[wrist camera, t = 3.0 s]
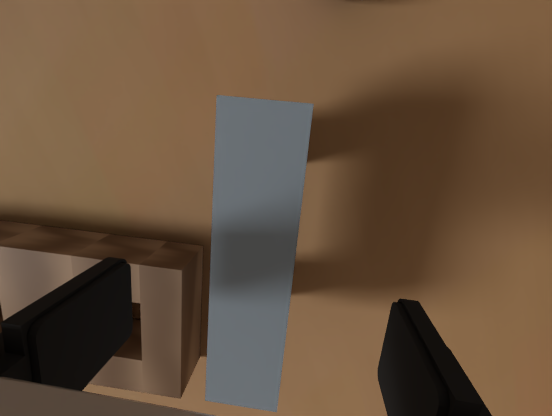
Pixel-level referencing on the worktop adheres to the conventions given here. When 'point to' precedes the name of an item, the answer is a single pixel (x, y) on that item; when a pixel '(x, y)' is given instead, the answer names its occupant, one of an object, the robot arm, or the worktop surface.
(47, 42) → the worktop surface
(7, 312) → the brown rectangular block
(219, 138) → the grey block
